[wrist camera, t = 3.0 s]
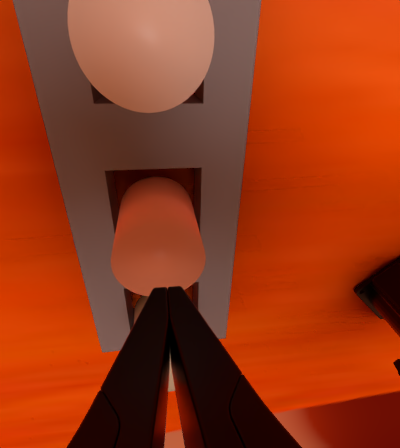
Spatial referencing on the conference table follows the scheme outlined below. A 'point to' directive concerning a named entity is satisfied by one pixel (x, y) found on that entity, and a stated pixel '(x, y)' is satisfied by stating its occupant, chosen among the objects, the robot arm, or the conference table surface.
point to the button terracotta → (157, 237)
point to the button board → (145, 153)
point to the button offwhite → (143, 49)
